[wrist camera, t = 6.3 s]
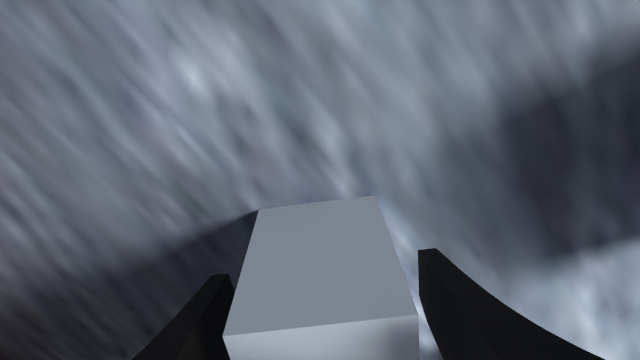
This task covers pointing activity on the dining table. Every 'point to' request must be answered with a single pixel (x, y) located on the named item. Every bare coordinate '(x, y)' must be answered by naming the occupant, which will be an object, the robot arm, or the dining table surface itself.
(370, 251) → the block
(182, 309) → the robot arm
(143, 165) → the dining table surface
